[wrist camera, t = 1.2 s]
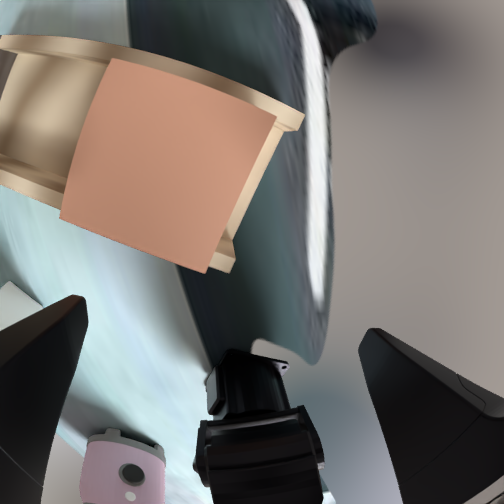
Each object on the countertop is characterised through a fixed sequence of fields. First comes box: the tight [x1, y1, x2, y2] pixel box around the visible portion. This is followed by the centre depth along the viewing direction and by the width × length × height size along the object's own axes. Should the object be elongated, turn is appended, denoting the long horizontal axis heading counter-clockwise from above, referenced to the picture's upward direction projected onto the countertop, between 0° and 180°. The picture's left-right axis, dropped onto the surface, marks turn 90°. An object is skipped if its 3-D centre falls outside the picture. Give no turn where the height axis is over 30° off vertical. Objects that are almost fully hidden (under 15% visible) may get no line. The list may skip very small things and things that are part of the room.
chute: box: [0, 35, 305, 273], centre depth 13 cm, size 23×10×4 cm, turn 65°
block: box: [59, 58, 277, 274], centre depth 13 cm, size 7×7×7 cm
